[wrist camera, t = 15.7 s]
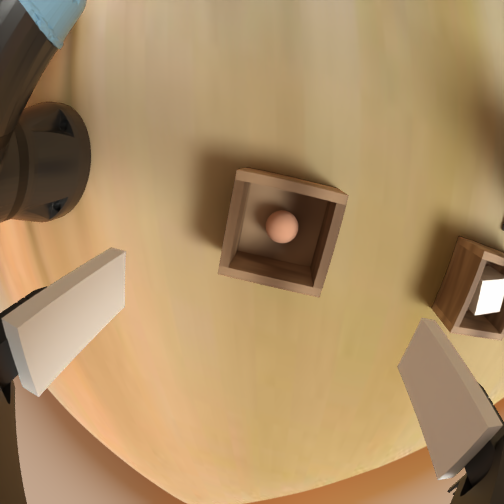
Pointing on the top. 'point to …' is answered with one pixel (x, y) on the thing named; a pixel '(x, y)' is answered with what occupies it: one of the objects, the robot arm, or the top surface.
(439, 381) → the robot arm
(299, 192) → the crate
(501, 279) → the cube
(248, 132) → the top surface
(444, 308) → the crate
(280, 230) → the ball
